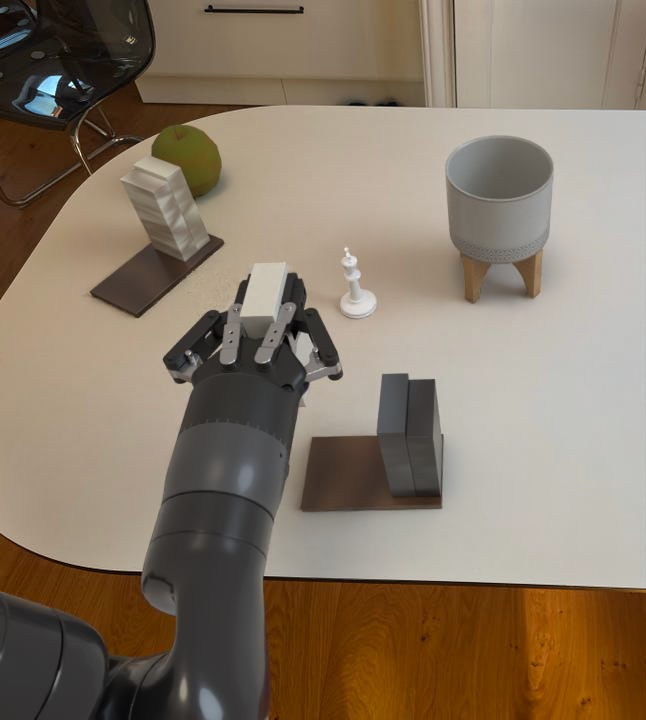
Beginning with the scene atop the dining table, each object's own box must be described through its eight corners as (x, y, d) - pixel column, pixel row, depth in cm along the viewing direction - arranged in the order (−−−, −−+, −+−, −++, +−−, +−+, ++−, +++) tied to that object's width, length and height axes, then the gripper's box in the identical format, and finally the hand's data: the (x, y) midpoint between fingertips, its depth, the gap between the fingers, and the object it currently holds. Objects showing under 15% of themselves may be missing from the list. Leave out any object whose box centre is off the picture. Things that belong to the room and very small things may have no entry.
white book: (277, 408, 63) (239, 316, 54) (287, 356, 67) (254, 262, 58) (306, 407, 63) (273, 315, 54) (315, 355, 67) (285, 261, 58)
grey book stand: (301, 511, 75) (270, 444, 65) (313, 440, 81) (286, 368, 71) (442, 508, 75) (433, 440, 65) (443, 437, 81) (435, 364, 70)
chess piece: (371, 288, 96) (360, 231, 89) (381, 312, 93) (371, 256, 86) (336, 298, 95) (322, 241, 88) (345, 323, 92) (331, 266, 85)
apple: (155, 186, 112) (127, 124, 103) (211, 161, 116) (188, 100, 107) (183, 216, 107) (156, 154, 98) (240, 190, 111) (219, 128, 102)
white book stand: (138, 318, 94) (93, 241, 83) (91, 295, 97) (42, 218, 86) (224, 243, 103) (194, 165, 92) (179, 224, 106) (145, 147, 95)
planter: (564, 269, 98) (575, 160, 84) (507, 323, 92) (508, 215, 78) (492, 231, 103) (491, 123, 89) (433, 280, 97) (422, 171, 83)
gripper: (324, 423, 45) (351, 244, 56) (107, 428, 45) (177, 248, 56) (343, 482, 51) (365, 309, 62) (151, 486, 51) (206, 312, 62)
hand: (275, 281), depth 59 cm, fingers closed on white book, 2 cm apart
